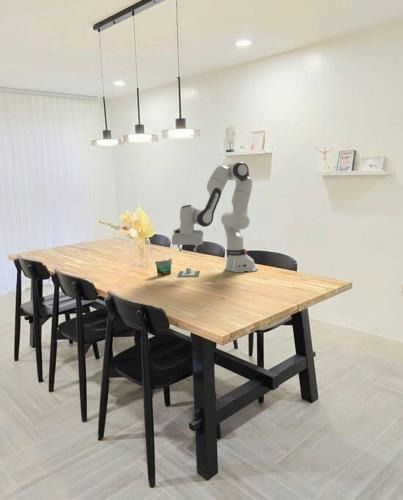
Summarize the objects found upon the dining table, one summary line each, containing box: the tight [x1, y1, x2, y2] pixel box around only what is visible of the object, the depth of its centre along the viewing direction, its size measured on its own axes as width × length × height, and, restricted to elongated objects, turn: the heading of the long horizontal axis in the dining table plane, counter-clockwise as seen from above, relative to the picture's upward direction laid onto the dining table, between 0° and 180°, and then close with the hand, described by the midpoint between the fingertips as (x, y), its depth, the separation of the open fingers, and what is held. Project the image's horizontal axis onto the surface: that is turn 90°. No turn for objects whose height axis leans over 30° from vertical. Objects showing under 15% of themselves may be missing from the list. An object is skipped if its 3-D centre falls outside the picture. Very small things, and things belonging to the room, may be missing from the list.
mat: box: [176, 270, 201, 279], centre depth 261 cm, size 14×17×1 cm
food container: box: [155, 258, 173, 277], centre depth 261 cm, size 12×6×10 cm, turn 129°
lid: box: [181, 267, 197, 278], centre depth 261 cm, size 8×13×4 cm, turn 176°
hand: (187, 251), depth 258 cm, fingers open, 8 cm apart
